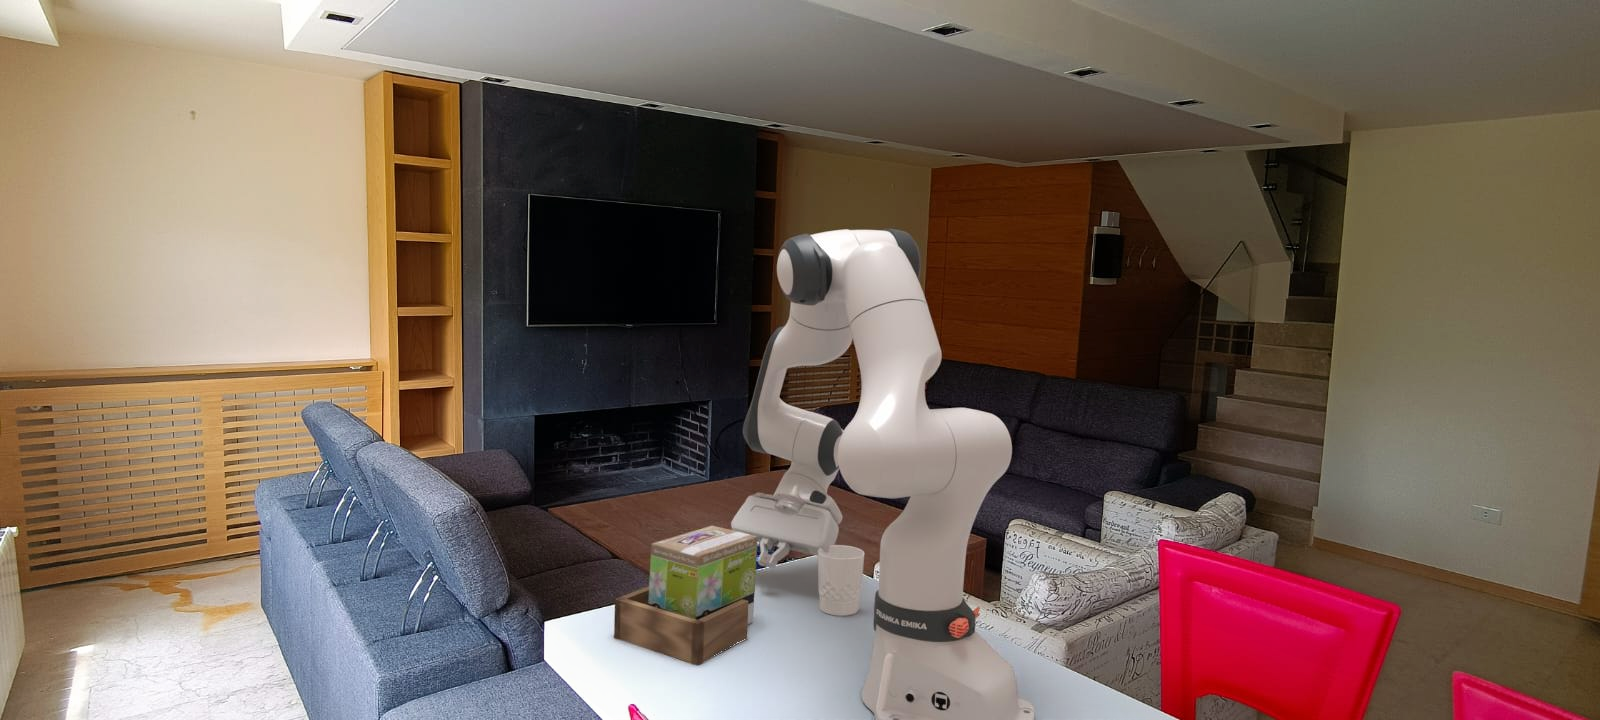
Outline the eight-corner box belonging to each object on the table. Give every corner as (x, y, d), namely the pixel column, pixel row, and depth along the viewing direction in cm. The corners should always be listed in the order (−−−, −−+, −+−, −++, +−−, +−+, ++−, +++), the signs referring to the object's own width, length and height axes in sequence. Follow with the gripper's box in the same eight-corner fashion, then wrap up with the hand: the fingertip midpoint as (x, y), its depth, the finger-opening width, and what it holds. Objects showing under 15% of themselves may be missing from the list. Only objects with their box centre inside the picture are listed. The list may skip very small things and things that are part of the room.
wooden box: (747, 638, 134) (748, 600, 134) (697, 665, 124) (698, 624, 124) (666, 614, 143) (667, 578, 143) (614, 637, 133) (614, 599, 133)
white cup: (806, 610, 148) (809, 552, 147) (831, 597, 154) (834, 542, 153) (846, 621, 143) (848, 561, 142) (870, 608, 150) (873, 551, 149)
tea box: (695, 653, 129) (698, 555, 127) (645, 636, 134) (647, 542, 133) (755, 622, 141) (758, 533, 140) (707, 608, 147) (710, 522, 146)
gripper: (745, 481, 164) (711, 544, 156) (839, 499, 153) (808, 567, 145) (757, 500, 168) (725, 562, 160) (850, 519, 157) (820, 586, 149)
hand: (765, 565), depth 153 cm, fingers closed
